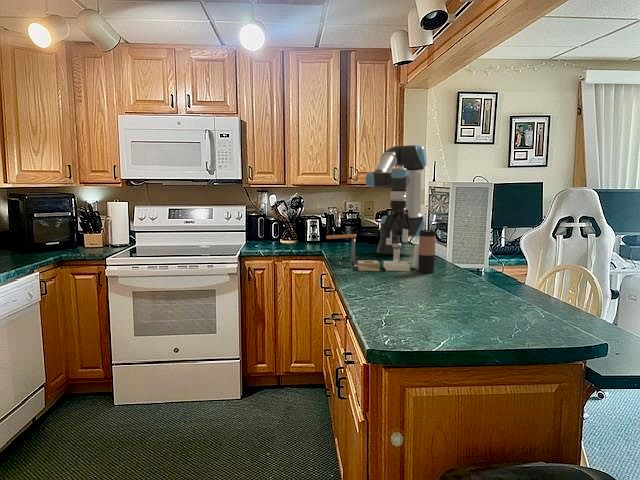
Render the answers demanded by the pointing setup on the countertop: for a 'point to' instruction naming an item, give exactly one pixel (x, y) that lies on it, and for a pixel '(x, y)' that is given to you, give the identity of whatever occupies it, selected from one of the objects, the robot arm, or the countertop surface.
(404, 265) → the tray
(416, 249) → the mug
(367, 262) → the block
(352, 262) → the keeper post
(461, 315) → the countertop surface
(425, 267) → the travel mug
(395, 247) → the pin
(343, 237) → the bar
